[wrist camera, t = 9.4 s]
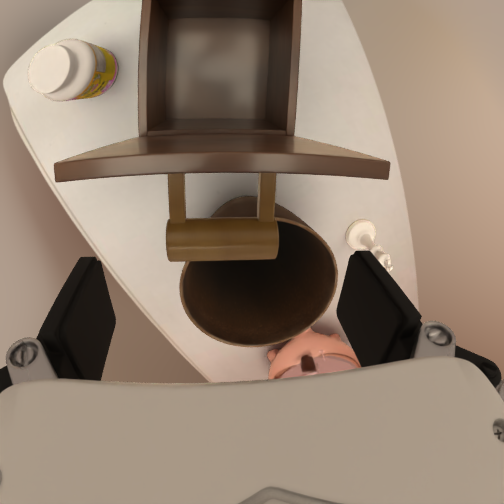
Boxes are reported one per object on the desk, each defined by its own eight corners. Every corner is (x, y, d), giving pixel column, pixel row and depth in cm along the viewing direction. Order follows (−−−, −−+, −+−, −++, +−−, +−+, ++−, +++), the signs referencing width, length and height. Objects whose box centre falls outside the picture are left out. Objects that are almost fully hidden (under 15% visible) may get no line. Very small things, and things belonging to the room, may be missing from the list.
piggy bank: (315, 379, 63) (336, 440, 49) (246, 359, 56) (258, 432, 42) (363, 333, 57) (396, 395, 43) (295, 303, 51) (323, 379, 37)
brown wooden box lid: (52, 163, 10) (72, 283, 12) (391, 162, 12) (372, 275, 14) (137, 137, 24) (140, 196, 26) (295, 136, 25) (292, 194, 28)
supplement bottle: (77, 104, 31) (25, 115, 20) (68, 59, 28) (14, 53, 17) (124, 87, 31) (84, 88, 20) (115, 40, 28) (74, 22, 17)
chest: (162, 15, 27) (143, -14, 17) (276, 16, 29) (302, -11, 19) (159, 125, 34) (138, 140, 24) (270, 125, 36) (294, 139, 26)
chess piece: (374, 216, 44) (408, 248, 36) (373, 244, 47) (404, 279, 38) (345, 222, 44) (375, 256, 36) (346, 251, 47) (373, 288, 38)
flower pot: (198, 274, 45) (196, 355, 32) (180, 176, 38) (163, 230, 24) (297, 260, 46) (331, 335, 33) (295, 163, 39) (343, 208, 25)
